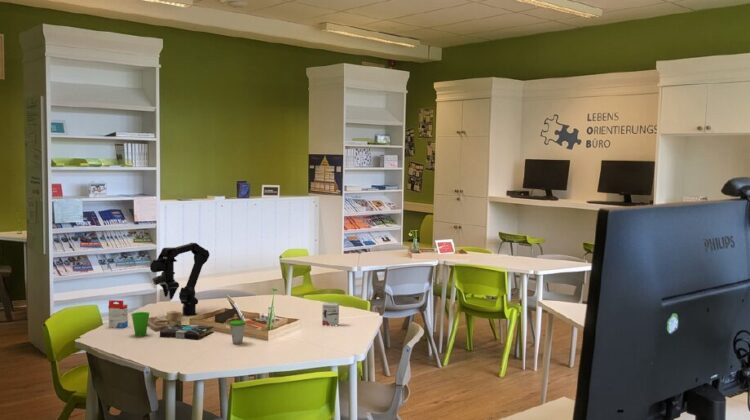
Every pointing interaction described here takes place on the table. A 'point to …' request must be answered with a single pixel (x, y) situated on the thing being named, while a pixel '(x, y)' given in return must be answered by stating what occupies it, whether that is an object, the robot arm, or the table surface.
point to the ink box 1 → (118, 314)
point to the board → (159, 325)
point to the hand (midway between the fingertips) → (168, 298)
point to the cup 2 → (237, 330)
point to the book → (186, 331)
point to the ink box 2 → (330, 314)
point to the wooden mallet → (171, 318)
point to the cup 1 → (140, 322)
